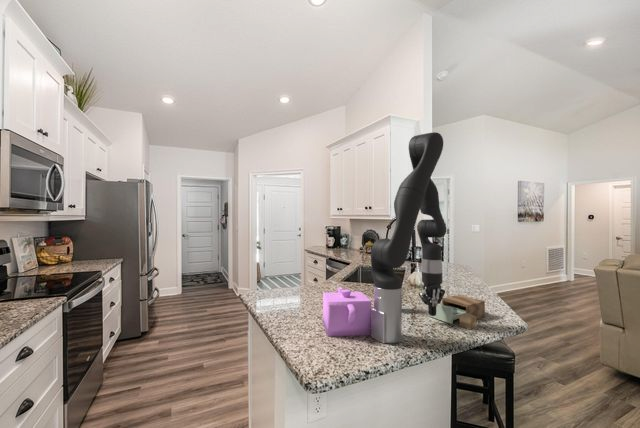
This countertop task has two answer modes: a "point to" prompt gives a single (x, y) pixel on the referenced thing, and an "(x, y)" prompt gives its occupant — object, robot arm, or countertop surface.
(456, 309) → the grey round dome
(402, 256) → the robot arm
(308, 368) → the countertop surface
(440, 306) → the tray
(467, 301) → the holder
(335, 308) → the teapot
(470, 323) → the oak block
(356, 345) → the countertop surface
